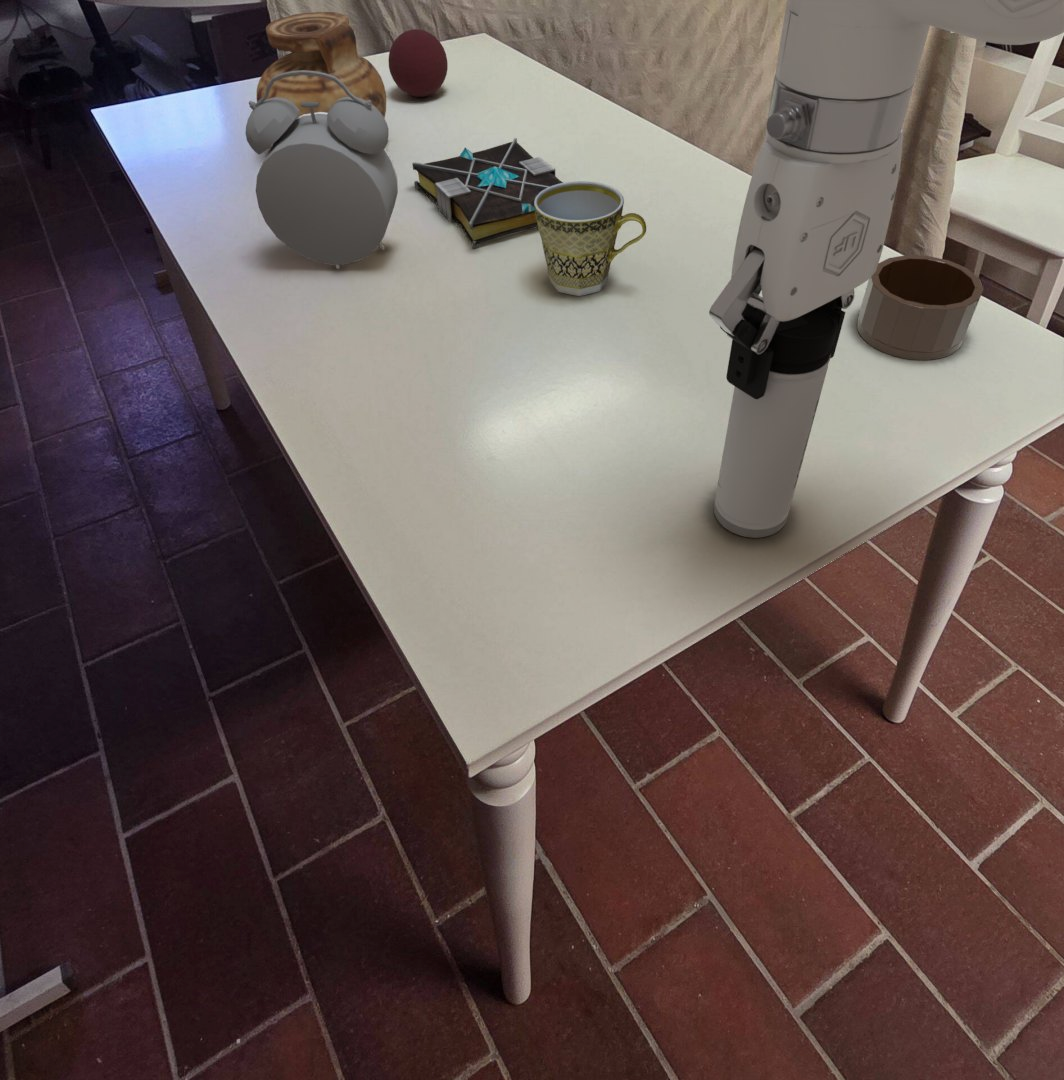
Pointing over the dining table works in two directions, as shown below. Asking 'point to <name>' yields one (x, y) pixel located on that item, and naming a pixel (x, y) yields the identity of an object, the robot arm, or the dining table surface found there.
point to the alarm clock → (324, 174)
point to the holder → (918, 307)
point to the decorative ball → (418, 63)
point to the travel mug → (773, 428)
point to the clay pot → (319, 62)
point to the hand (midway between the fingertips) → (780, 368)
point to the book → (488, 189)
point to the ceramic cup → (581, 233)
